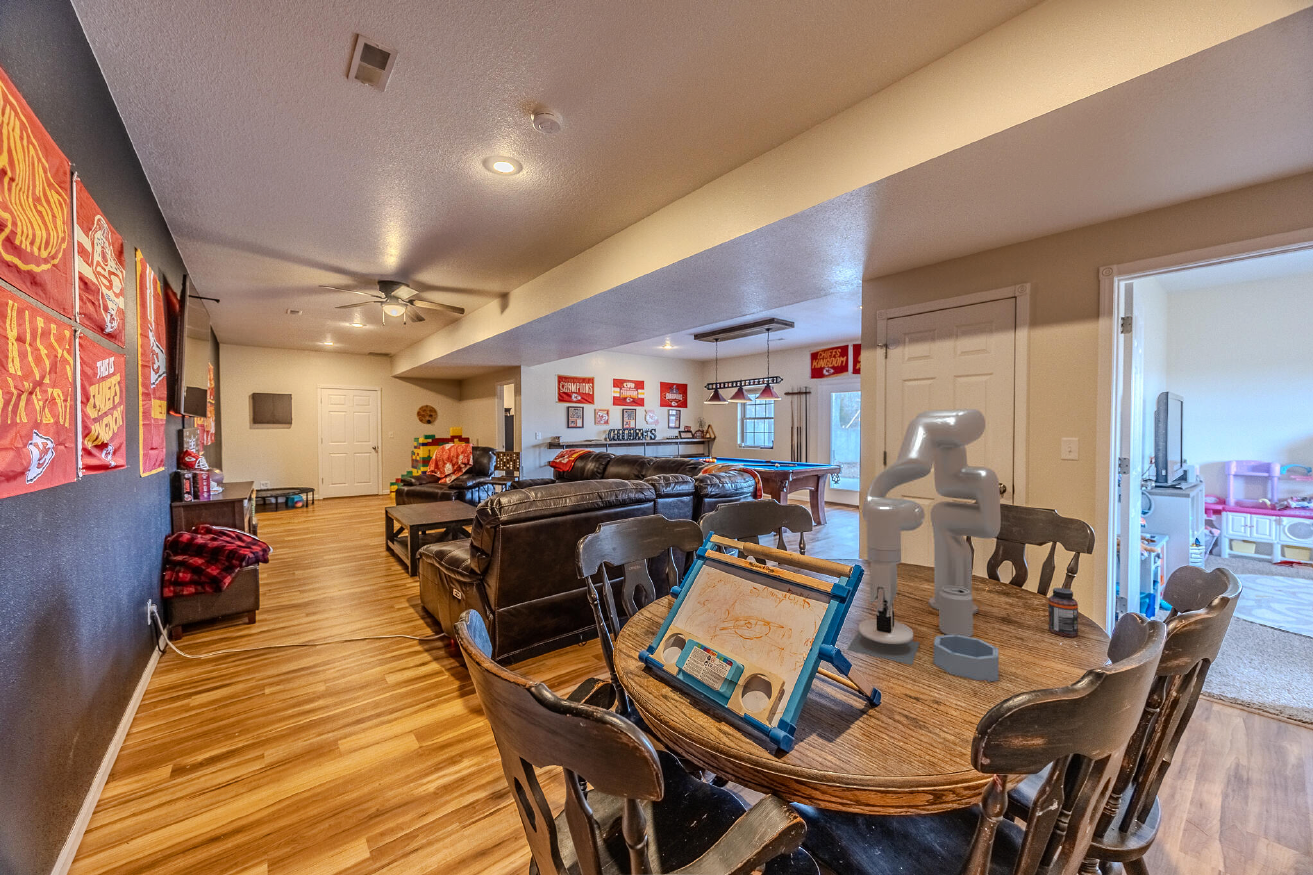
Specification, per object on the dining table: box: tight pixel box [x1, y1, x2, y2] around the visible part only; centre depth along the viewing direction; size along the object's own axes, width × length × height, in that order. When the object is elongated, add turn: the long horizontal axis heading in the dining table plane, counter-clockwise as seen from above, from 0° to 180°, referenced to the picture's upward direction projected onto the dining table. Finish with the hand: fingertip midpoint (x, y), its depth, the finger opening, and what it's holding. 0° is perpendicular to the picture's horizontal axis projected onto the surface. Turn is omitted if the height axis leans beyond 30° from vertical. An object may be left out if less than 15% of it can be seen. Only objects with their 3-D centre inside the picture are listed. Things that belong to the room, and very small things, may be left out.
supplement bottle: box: [1047, 587, 1079, 638], centre depth 128 cm, size 6×6×11 cm
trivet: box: [846, 630, 921, 666], centre depth 120 cm, size 14×14×1 cm
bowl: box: [933, 634, 1000, 683], centre depth 110 cm, size 12×12×5 cm
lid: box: [858, 602, 914, 644], centre depth 121 cm, size 12×12×7 cm
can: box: [938, 586, 974, 638], centre depth 128 cm, size 8×8×12 cm
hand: (885, 627), depth 121 cm, fingers closed on lid, 3 cm apart
